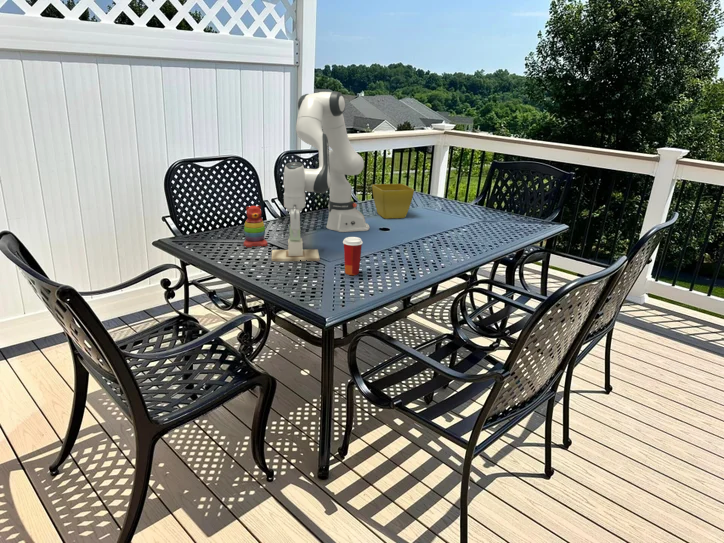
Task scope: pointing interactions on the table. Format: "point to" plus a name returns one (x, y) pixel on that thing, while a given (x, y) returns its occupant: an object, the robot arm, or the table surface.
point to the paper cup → (352, 255)
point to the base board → (283, 256)
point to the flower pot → (392, 199)
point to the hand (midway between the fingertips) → (295, 234)
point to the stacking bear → (254, 228)
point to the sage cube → (292, 234)
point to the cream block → (295, 247)
